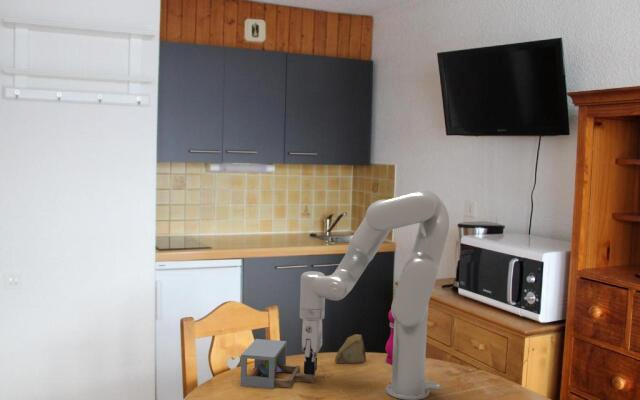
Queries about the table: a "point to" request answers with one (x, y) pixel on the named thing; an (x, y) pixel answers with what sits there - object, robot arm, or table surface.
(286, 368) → the brown open frame
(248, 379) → the open box
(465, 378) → the table surface
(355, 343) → the rock
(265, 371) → the geometric puzzle
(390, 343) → the pepper mill
